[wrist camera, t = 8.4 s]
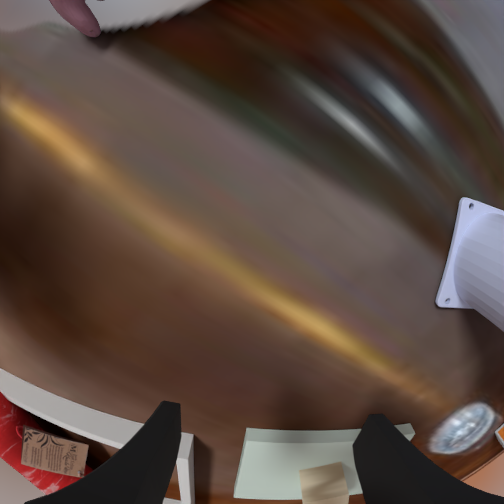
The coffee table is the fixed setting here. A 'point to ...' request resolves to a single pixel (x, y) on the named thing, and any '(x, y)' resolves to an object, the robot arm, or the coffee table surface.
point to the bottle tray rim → (94, 426)
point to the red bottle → (39, 450)
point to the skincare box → (500, 434)
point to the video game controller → (78, 16)
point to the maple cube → (324, 485)
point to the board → (294, 460)
